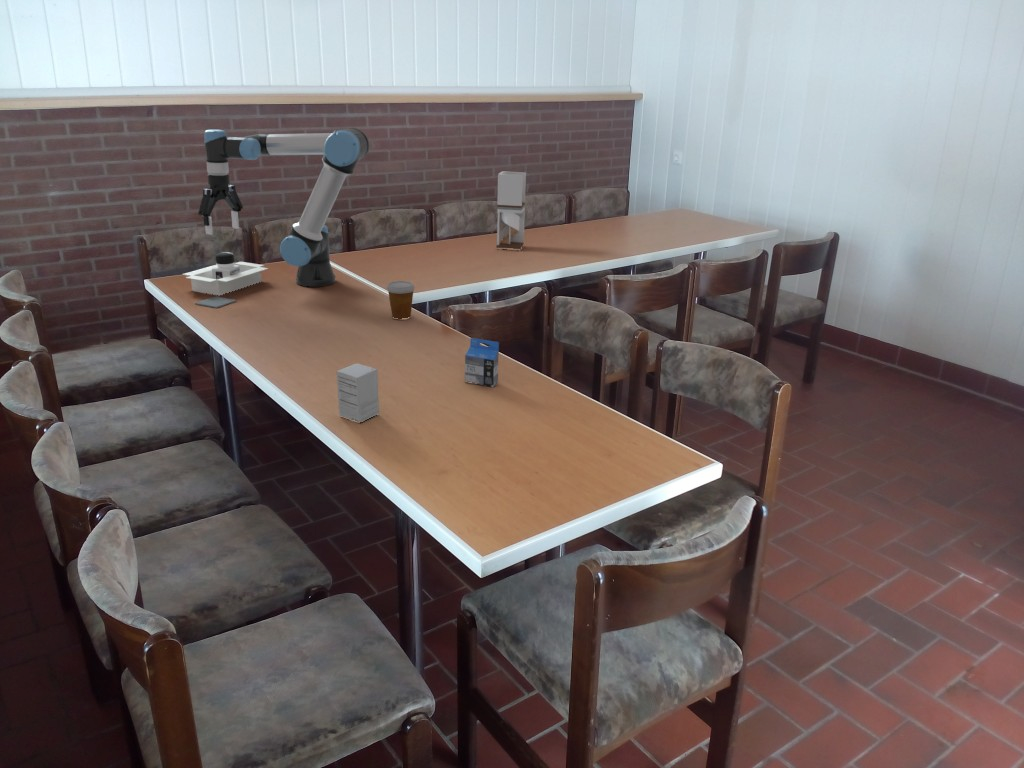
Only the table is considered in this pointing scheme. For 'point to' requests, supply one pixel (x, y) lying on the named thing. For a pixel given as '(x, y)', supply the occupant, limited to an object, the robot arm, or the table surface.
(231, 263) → the container
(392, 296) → the disposable coffee cup
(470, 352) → the label tape cartridge
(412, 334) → the table surface
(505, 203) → the white hollow stand
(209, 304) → the mat
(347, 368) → the grey drawer cabinet
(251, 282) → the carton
